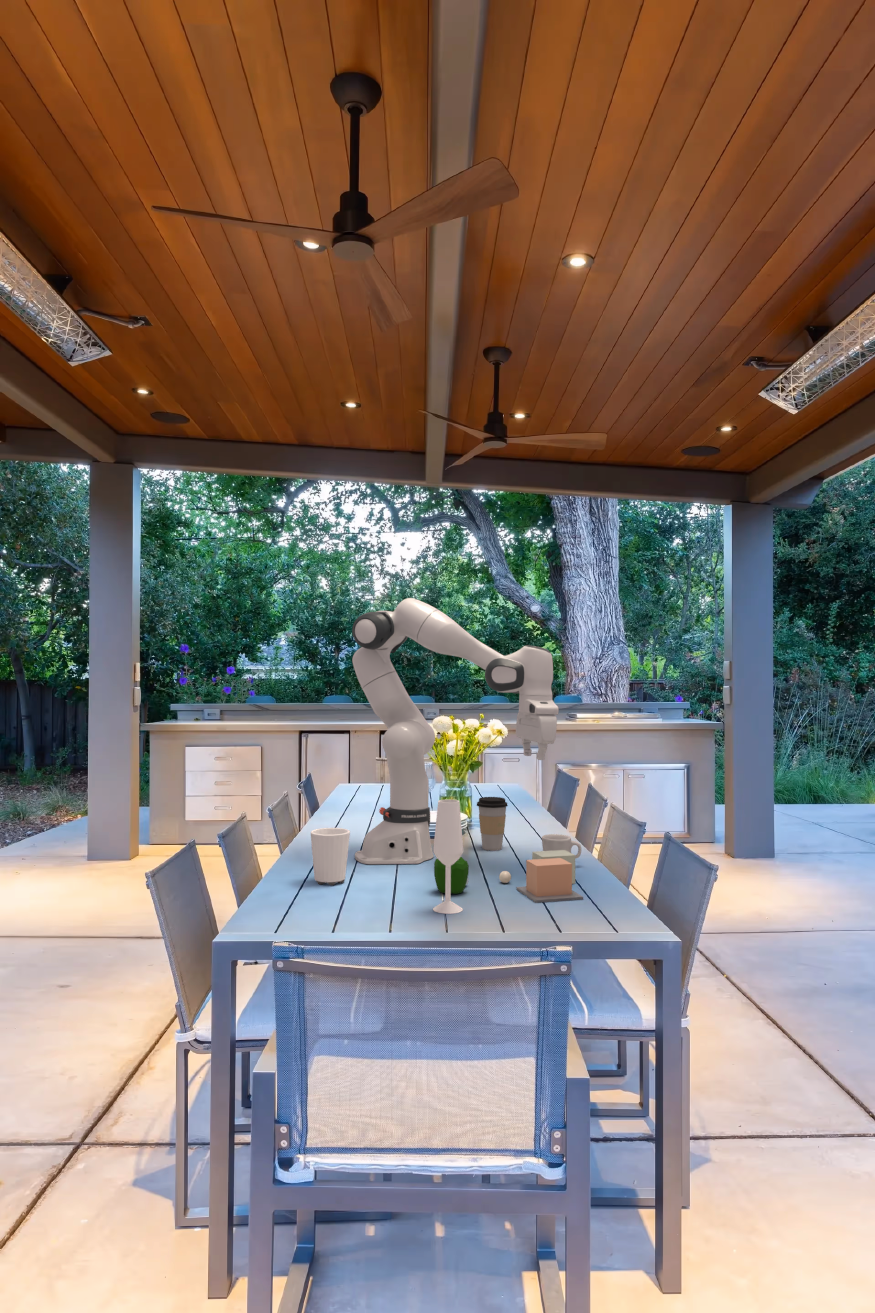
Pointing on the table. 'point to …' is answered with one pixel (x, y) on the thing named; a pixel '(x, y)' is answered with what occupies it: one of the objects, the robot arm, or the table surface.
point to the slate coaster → (549, 898)
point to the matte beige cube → (557, 854)
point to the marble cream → (505, 877)
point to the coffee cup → (492, 822)
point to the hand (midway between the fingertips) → (533, 757)
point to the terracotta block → (549, 877)
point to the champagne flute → (448, 847)
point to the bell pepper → (452, 875)
